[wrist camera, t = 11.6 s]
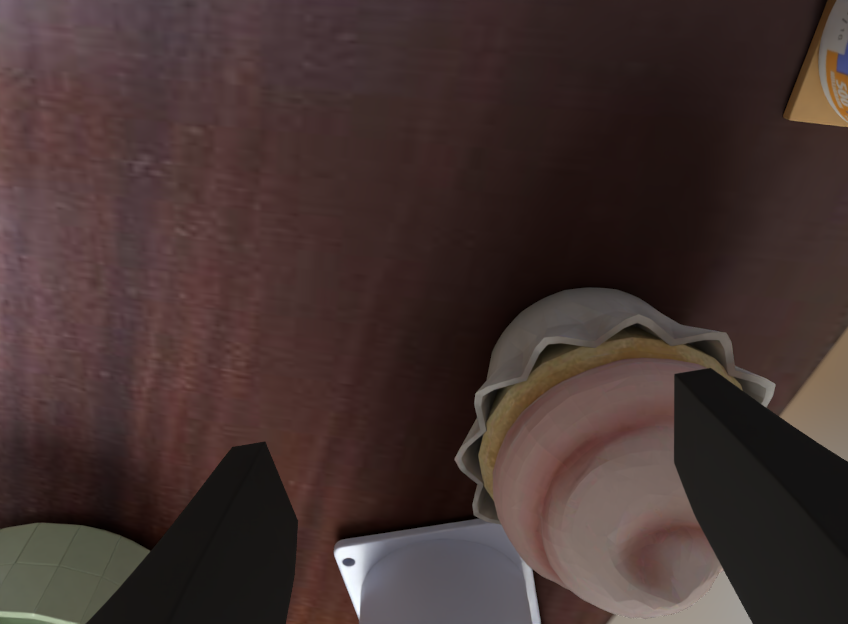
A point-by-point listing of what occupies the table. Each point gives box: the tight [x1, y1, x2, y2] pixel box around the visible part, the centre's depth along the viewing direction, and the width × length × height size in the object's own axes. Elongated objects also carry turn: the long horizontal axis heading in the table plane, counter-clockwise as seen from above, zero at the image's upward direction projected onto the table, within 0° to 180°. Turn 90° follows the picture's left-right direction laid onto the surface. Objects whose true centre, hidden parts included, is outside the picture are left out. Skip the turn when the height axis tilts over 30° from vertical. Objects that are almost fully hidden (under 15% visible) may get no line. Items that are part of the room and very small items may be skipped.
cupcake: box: [455, 287, 775, 619], centre depth 19 cm, size 9×9×10 cm
